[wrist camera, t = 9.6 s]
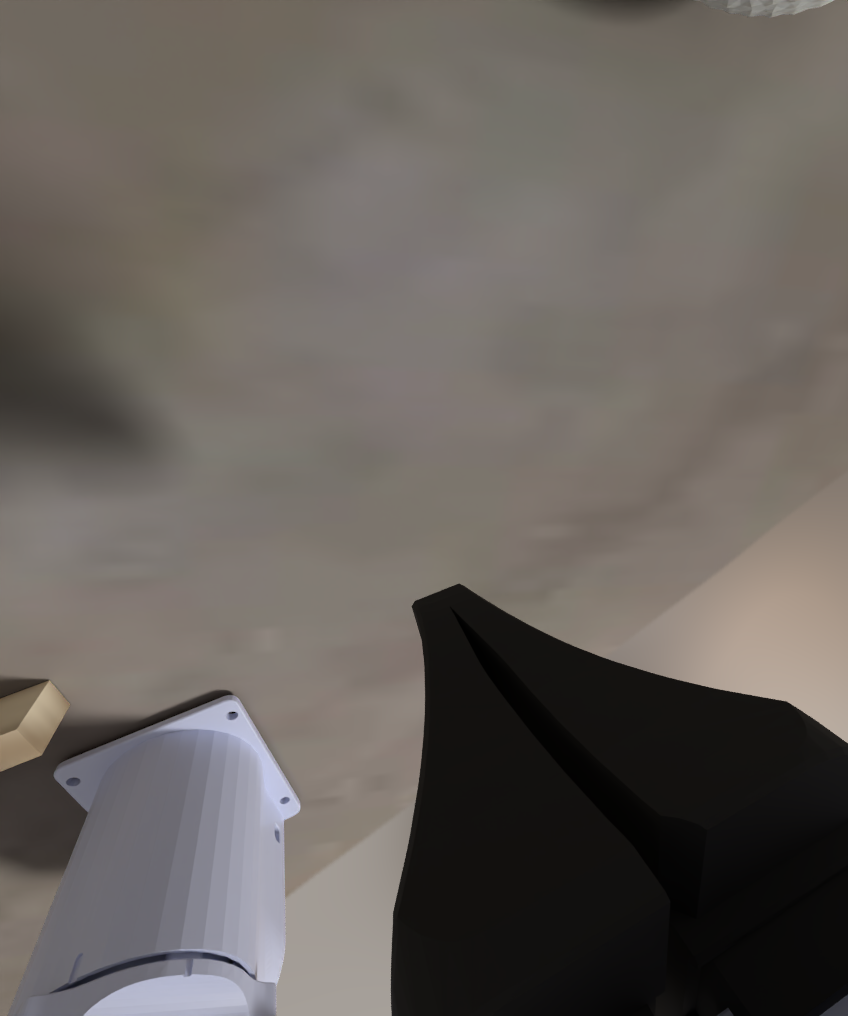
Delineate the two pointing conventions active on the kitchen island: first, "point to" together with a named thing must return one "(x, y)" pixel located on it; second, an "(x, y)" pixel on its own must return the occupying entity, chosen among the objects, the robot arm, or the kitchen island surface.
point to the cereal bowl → (764, 6)
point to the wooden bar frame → (29, 722)
